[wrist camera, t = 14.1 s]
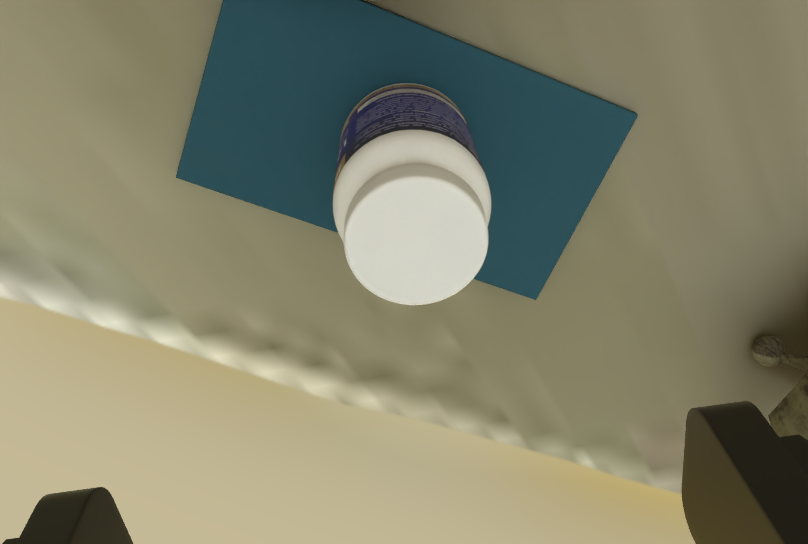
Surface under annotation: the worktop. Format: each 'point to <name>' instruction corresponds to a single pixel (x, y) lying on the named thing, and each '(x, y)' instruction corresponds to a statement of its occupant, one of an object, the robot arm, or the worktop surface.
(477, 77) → the towel
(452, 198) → the pill bottle
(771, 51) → the worktop surface
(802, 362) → the tabletop clock
